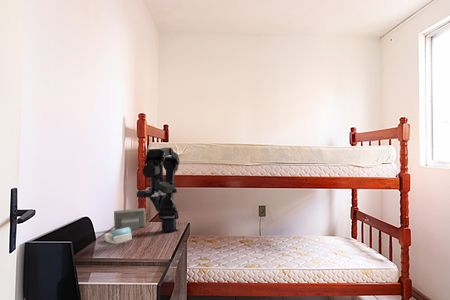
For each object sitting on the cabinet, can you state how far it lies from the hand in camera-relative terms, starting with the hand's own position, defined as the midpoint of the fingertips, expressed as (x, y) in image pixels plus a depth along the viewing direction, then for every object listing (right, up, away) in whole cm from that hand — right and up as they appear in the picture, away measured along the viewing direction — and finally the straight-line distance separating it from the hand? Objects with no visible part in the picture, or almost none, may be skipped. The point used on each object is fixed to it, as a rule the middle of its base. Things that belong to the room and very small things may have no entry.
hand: (158, 211), depth 138 cm
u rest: (-19, -14, +2) cm, 23 cm away
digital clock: (-21, -15, +26) cm, 37 cm away
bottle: (-15, -11, +6) cm, 20 cm away
